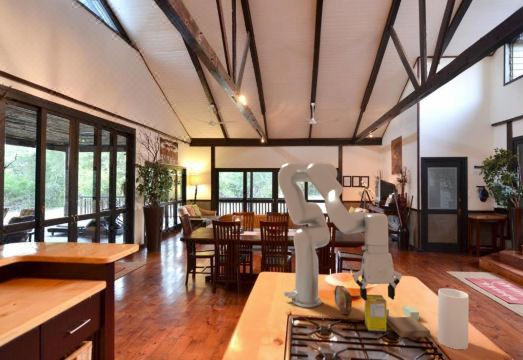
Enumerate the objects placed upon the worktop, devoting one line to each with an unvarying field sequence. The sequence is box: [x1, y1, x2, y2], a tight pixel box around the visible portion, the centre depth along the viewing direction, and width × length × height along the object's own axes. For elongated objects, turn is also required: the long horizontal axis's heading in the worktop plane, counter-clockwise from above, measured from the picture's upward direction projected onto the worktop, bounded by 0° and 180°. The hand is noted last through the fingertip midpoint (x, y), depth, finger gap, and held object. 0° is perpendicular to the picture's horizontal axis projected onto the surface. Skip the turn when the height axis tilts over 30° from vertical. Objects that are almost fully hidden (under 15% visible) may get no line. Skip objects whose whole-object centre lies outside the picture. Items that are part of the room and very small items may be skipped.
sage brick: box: [402, 305, 420, 321], centre depth 116 cm, size 6×3×3 cm, turn 2°
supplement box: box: [364, 294, 387, 334], centre depth 106 cm, size 6×6×11 cm
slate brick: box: [386, 307, 390, 317], centre depth 115 cm, size 6×3×3 cm, turn 117°
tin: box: [334, 285, 353, 315], centre depth 121 cm, size 15×3×8 cm, turn 2°
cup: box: [437, 287, 470, 350], centre depth 97 cm, size 8×8×16 cm
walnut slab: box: [386, 316, 431, 338], centre depth 105 cm, size 10×10×2 cm
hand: (377, 298), depth 105 cm, fingers open, 9 cm apart
